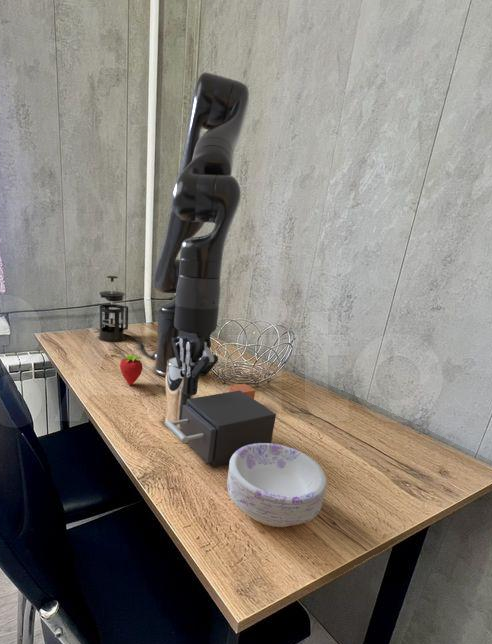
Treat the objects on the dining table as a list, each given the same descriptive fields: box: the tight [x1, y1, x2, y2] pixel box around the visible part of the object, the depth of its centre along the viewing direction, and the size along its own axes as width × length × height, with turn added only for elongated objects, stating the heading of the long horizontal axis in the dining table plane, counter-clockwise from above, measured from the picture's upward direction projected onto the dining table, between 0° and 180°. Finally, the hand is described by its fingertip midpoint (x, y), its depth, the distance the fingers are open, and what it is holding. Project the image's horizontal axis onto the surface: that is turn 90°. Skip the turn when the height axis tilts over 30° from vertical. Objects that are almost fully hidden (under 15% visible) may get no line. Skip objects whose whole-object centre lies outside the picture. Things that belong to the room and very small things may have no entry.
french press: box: [98, 275, 129, 343], centre depth 146 cm, size 12×9×23 cm
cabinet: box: [186, 390, 277, 469], centre depth 82 cm, size 14×12×9 cm
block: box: [228, 383, 256, 400], centre depth 102 cm, size 5×5×5 cm
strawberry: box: [119, 351, 144, 386], centre depth 109 cm, size 6×8×10 cm
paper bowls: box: [226, 442, 328, 528], centre depth 65 cm, size 15×15×8 cm
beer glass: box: [164, 357, 195, 430], centre depth 89 cm, size 7×7×15 cm
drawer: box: [164, 404, 216, 464], centre depth 81 cm, size 17×11×7 cm, turn 117°
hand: (189, 393), depth 75 cm, fingers closed
